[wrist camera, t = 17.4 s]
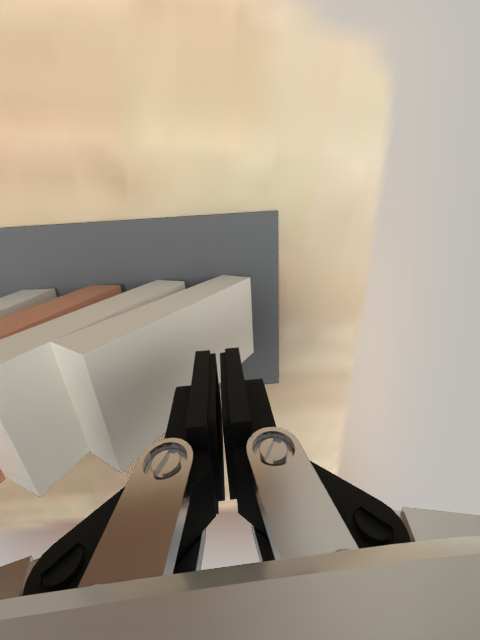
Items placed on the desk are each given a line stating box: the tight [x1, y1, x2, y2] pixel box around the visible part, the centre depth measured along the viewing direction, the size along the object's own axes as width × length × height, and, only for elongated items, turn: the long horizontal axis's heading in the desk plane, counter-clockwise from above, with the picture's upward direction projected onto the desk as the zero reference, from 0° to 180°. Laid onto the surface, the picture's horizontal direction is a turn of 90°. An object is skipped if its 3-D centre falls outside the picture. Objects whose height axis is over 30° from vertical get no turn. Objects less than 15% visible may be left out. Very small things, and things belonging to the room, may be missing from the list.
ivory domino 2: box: [50, 275, 254, 473], centre depth 13 cm, size 2×5×10 cm
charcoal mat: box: [0, 211, 279, 389], centre depth 17 cm, size 12×21×1 cm, turn 93°
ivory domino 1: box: [0, 280, 185, 497], centre depth 13 cm, size 2×5×10 cm, turn 2°
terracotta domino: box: [0, 285, 122, 483], centre depth 13 cm, size 2×5×10 cm, turn 3°
